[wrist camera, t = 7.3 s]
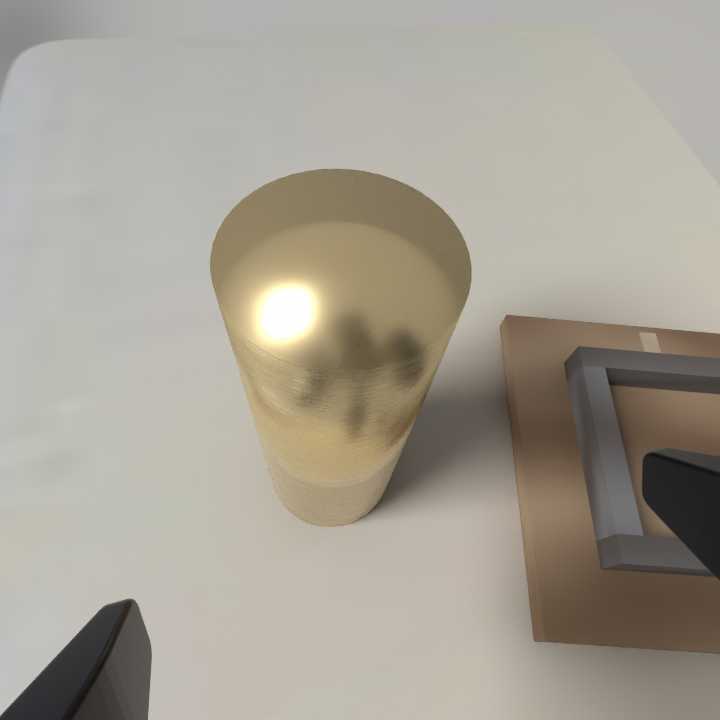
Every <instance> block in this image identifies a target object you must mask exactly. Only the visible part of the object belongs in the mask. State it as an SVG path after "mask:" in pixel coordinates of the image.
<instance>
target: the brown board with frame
mask: <svg viewBox="0 0 720 720" xmlns="http://www.w3.org/2000/svg"><path fill="white" fill-rule="evenodd" d="M500 331H501V340H502V349H503V359H504V368H505V377H506V386H507V396H508V405H509V414H510V423H511V433H512V442H513V451H514V460H515V470H516V479H517V488H518V497H519V507H520V516H521V525H522V534H523V544H524V553H525V562H526V571H527V581H528V590H529V599H530V608H531V618H532V627H533V636H534V641H539V642H554V643H569V644H583V645H598V646H613V647H628V648H643V649H658V650H673V651H688V652H703V653H718V654H720V581H719V580H718V579H717V578H716V577H715V576H714V575H713V574H712V573H711V572H710V571H709V570H708V569H707V568H706V567H705V566H704V565H703V564H702V563H701V562H700V561H699V560H698V559H697V558H696V557H695V556H694V554H693V553H692V552H691V551H690V550H689V549H688V548H687V547H686V546H685V545H684V544H683V543H682V542H681V541H680V540H679V538H678V537H677V536H676V535H675V534H674V533H673V532H672V531H671V530H670V529H669V528H668V527H667V526H666V525H665V524H664V522H663V521H662V520H661V519H660V518H659V517H658V516H657V515H656V514H655V513H654V512H653V511H652V510H651V509H650V508H649V506H648V505H647V504H646V502H645V501H644V498H643V496H642V461H643V457H644V455H645V454H646V453H648V452H650V451H654V450H657V449H661V448H674V449H680V450H686V451H692V452H699V453H705V454H711V455H717V456H720V334H715V333H704V332H693V331H682V330H670V329H659V328H648V327H637V326H625V325H614V324H603V323H592V322H580V321H569V320H558V319H547V318H535V317H524V316H513V315H506V317H505V318H504V320H503V322H502V324H501V325H500Z"/></svg>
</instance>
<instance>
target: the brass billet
mask: <svg viewBox="0 0 720 720" xmlns="http://www.w3.org/2000/svg"><path fill="white" fill-rule="evenodd" d="M210 271H211V277H212V283H213V287H214V290H215V293H216V297H217V300H218V303H219V307H220V310H221V313H222V317H223V320H224V323H225V326H226V330H227V333H228V336H229V340H230V343H231V346H232V350H233V353H234V356H235V360H236V363H237V366H238V369H239V373H240V376H241V379H242V383H243V386H244V389H245V393H246V396H247V399H248V403H249V406H250V409H251V412H252V416H253V419H254V422H255V426H256V429H257V432H258V436H259V439H260V442H261V445H262V449H263V452H264V455H265V459H266V462H267V465H268V469H269V472H270V475H271V479H272V482H273V485H274V488H275V491H276V493H277V495H278V497H279V499H280V500H281V502H282V503H283V505H284V506H285V507H286V508H287V509H288V510H289V511H290V512H291V513H292V514H294V515H295V516H296V517H298V518H300V519H301V520H303V521H306V522H308V523H310V524H314V525H318V526H325V527H335V526H342V525H346V524H350V523H352V522H354V521H357V520H358V519H360V518H362V517H364V516H365V515H366V514H367V513H369V512H370V511H371V510H372V509H373V508H374V507H375V506H376V505H377V503H378V502H379V501H380V499H381V497H382V496H383V494H384V492H385V489H386V487H387V485H388V482H389V480H390V478H391V475H392V473H393V471H394V468H395V466H396V464H397V461H398V459H399V457H400V454H401V452H402V450H403V447H404V445H405V443H406V440H407V438H408V436H409V434H410V431H411V429H412V427H413V424H414V422H415V420H416V417H417V415H418V413H419V410H420V408H421V406H422V403H423V401H424V399H425V396H426V394H427V392H428V389H429V387H430V385H431V382H432V380H433V378H434V375H435V373H436V371H437V368H438V366H439V364H440V361H441V359H442V357H443V354H444V352H445V350H446V347H447V345H448V343H449V340H450V338H451V336H452V333H453V331H454V329H455V326H456V324H457V322H458V319H459V317H460V315H461V312H462V310H463V308H464V305H465V303H466V300H467V297H468V294H469V290H470V285H471V262H470V255H469V252H468V249H467V246H466V243H465V241H464V239H463V237H462V235H461V233H460V231H459V229H458V228H457V226H456V225H455V224H454V222H453V221H452V219H451V218H450V217H449V216H448V215H447V214H446V213H445V212H444V210H443V209H441V208H440V207H439V206H438V205H437V204H436V203H435V202H434V201H432V200H431V199H429V198H428V197H427V196H425V195H424V194H422V193H421V192H419V191H417V190H416V189H414V188H412V187H410V186H408V185H406V184H404V183H401V182H399V181H397V180H394V179H391V178H388V177H385V176H382V175H379V174H374V173H370V172H365V171H358V170H350V169H321V170H312V171H306V172H301V173H296V174H292V175H289V176H286V177H283V178H280V179H277V180H275V181H273V182H270V183H268V184H266V185H264V186H262V187H261V188H259V189H257V190H255V191H254V192H252V193H251V194H250V195H248V196H247V197H246V198H244V199H243V200H242V201H241V202H240V203H239V204H238V205H236V206H235V207H234V208H233V209H232V211H231V212H230V213H229V214H228V216H227V217H226V218H225V219H224V221H223V223H222V225H221V226H220V228H219V230H218V232H217V234H216V237H215V240H214V242H213V246H212V252H211V259H210Z"/></svg>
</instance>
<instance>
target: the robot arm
mask: <svg viewBox="0 0 720 720" xmlns="http://www.w3.org/2000/svg"><path fill="white" fill-rule="evenodd" d="M642 496H643V498H644V501H645V502H646V504H647V505H648V506H649V508H650V509H651V510H652V511H653V512H654V513H655V514H656V515H657V516H658V517H659V518H660V519H661V520H662V521H663V522H664V524H665V525H666V526H667V527H668V528H669V529H670V530H671V531H672V532H673V533H674V534H675V535H676V536H677V537H678V538H679V540H680V541H681V542H682V543H683V544H684V545H685V546H686V547H687V548H688V549H689V550H690V551H691V552H692V553H693V554H694V556H695V557H696V558H697V559H698V560H699V561H700V562H701V563H702V564H703V565H704V566H705V567H706V568H707V569H708V570H709V571H710V572H711V573H712V574H713V575H714V576H715V577H716V578H717V579H718V580H719V581H720V456H717V455H711V454H705V453H699V452H692V451H686V450H680V449H674V448H661V449H657V450H654V451H650V452H648V453H646V454H645V455H644V457H643V461H642ZM151 660H152V652H151V644H150V639H149V636H148V633H147V630H146V627H145V624H144V622H143V619H142V616H141V613H140V610H139V607H138V604H137V603H136V601H135V600H133V599H126V600H122V601H119V602H115V603H112V604H108V605H106V606H104V607H103V608H102V609H100V610H99V611H98V613H97V614H96V615H95V616H94V617H93V618H92V619H91V620H90V621H89V622H88V623H87V624H86V625H85V626H84V627H83V628H82V630H81V631H80V632H79V633H78V634H77V635H76V636H75V637H74V638H73V639H72V640H71V641H70V642H69V643H68V644H67V646H66V647H65V648H64V649H63V650H62V651H61V652H60V653H59V654H58V655H57V656H56V657H55V658H54V659H53V660H52V661H51V663H50V664H49V665H48V666H47V667H46V668H45V669H44V670H43V671H42V672H41V673H40V674H39V675H38V676H37V677H36V679H35V680H34V681H33V682H32V683H31V684H30V685H29V686H28V687H27V688H26V689H25V690H24V691H23V692H22V693H21V694H20V696H19V697H18V698H17V699H16V700H15V701H14V702H13V703H12V704H11V705H10V706H9V707H8V708H7V709H6V710H5V711H4V713H3V714H2V715H1V716H0V720H148V708H149V692H150V676H151Z"/></svg>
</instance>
